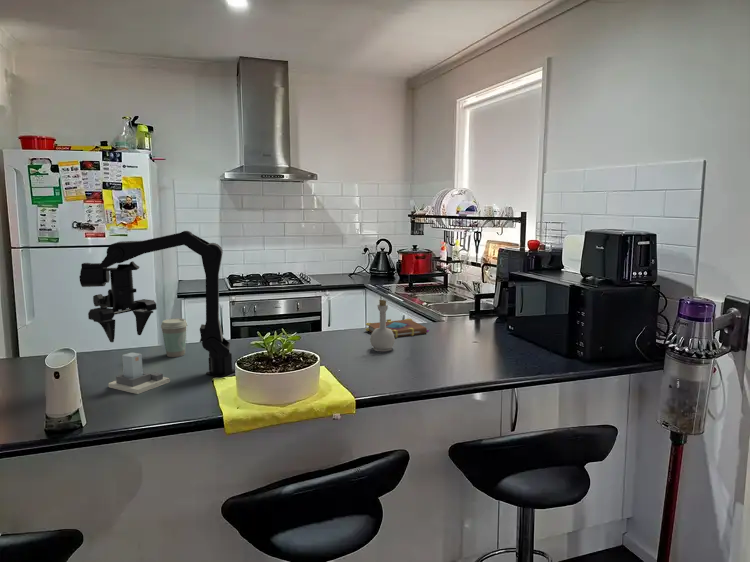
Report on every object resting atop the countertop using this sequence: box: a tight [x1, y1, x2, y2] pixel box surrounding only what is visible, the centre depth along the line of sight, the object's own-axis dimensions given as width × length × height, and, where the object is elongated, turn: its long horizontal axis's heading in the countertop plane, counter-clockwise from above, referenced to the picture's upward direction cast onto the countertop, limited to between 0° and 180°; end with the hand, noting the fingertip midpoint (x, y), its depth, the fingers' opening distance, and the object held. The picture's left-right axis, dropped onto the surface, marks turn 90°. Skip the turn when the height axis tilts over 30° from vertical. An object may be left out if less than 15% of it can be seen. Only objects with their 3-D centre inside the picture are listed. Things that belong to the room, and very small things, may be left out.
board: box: [108, 371, 171, 395], centre depth 153 cm, size 12×11×3 cm
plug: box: [121, 352, 144, 379], centre depth 152 cm, size 4×3×8 cm
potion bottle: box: [369, 299, 396, 353], centre depth 189 cm, size 9×9×18 cm
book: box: [365, 318, 430, 339], centre depth 216 cm, size 16×25×5 cm, turn 115°
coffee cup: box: [160, 317, 188, 358], centre depth 182 cm, size 8×9×12 cm
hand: (125, 338), depth 156 cm, fingers open, 9 cm apart
